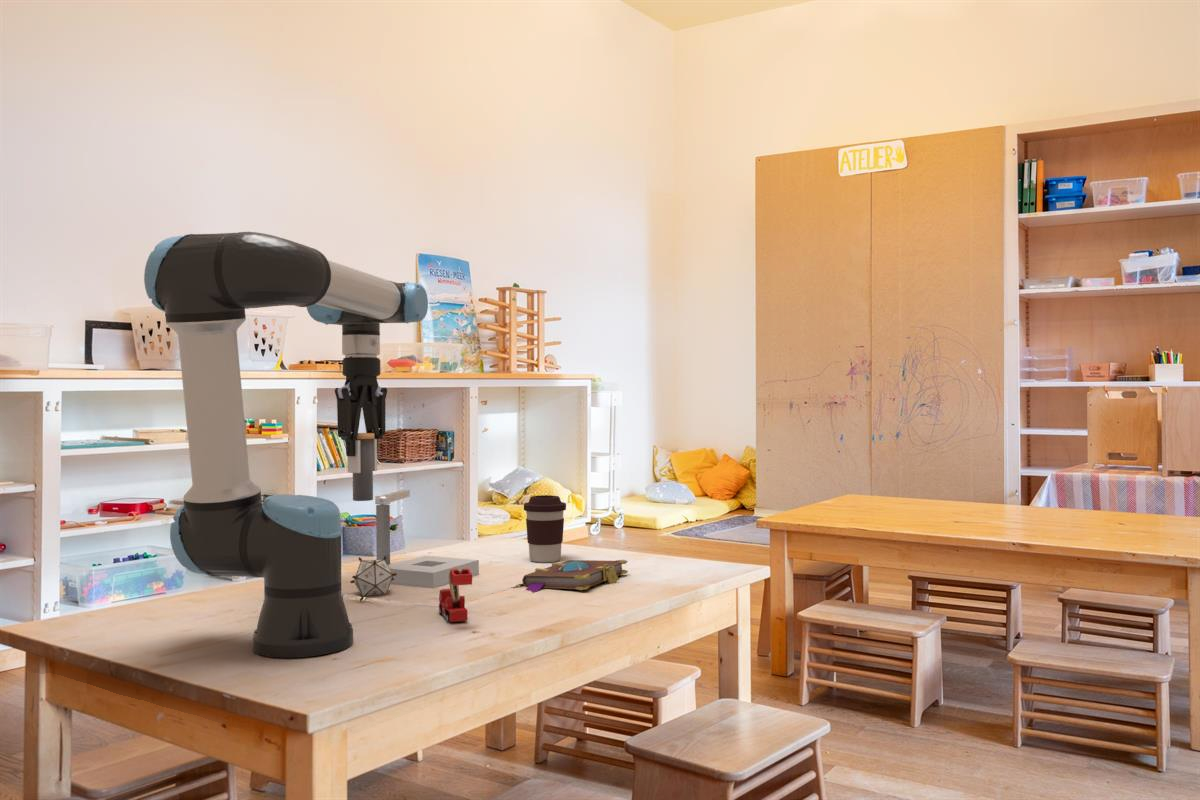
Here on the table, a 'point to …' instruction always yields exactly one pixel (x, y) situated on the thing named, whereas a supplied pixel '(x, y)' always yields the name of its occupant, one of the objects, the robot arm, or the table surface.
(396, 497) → the silver ball-ended lever
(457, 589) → the toy fire truck
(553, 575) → the book
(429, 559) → the socket block
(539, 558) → the coffee cup
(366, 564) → the game die
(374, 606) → the table surface
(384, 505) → the post
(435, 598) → the table surface
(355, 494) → the plug
